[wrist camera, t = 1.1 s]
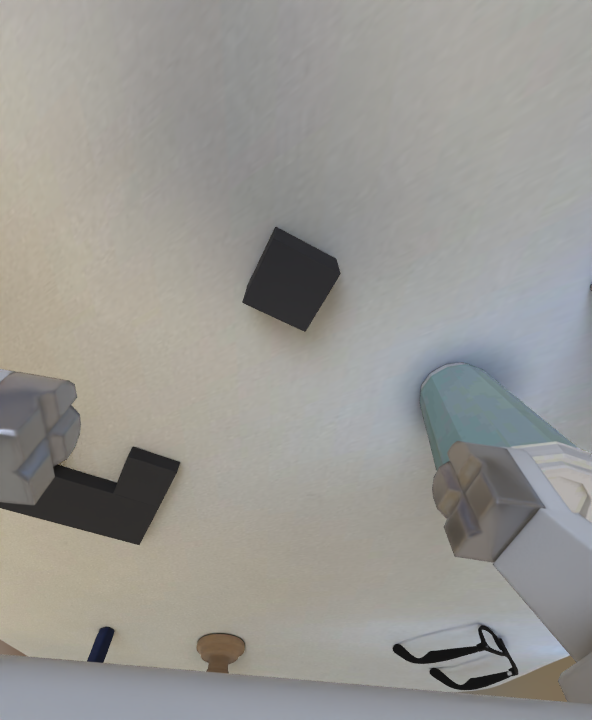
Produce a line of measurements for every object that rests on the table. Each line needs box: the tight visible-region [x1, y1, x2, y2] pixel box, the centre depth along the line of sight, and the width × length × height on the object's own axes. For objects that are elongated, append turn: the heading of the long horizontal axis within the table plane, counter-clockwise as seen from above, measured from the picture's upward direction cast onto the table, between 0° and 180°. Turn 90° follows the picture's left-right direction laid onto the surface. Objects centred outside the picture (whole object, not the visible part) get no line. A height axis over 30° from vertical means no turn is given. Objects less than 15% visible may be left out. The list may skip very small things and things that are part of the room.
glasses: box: [393, 626, 518, 690], centre depth 68 cm, size 16×18×5 cm
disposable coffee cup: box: [420, 362, 592, 523], centre depth 31 cm, size 11×11×15 cm
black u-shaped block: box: [0, 447, 180, 545], centre depth 44 cm, size 18×16×2 cm
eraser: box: [87, 627, 114, 663], centre depth 63 cm, size 2×2×7 cm
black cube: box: [243, 227, 340, 332], centre depth 29 cm, size 6×6×4 cm
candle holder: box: [197, 634, 245, 674], centre depth 60 cm, size 9×9×20 cm
